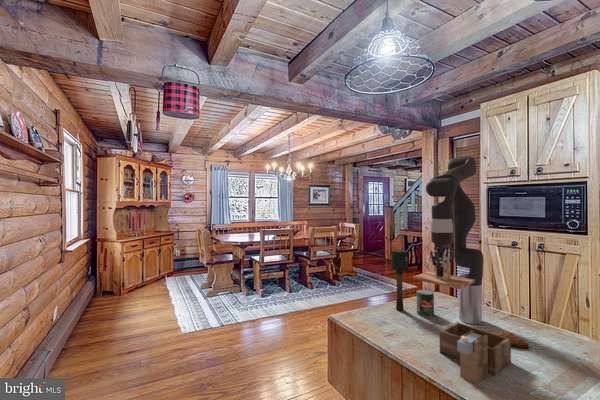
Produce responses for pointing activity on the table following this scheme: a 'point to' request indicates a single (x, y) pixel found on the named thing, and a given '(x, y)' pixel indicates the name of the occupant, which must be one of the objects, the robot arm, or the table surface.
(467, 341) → the drawer
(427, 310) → the canned tomato
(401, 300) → the stick grenade
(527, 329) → the table surface
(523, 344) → the croissant
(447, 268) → the lid
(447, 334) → the toolbox
